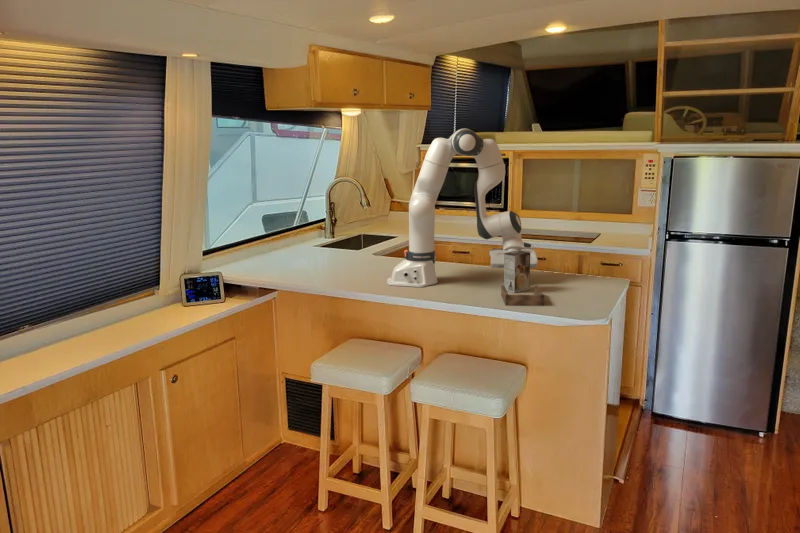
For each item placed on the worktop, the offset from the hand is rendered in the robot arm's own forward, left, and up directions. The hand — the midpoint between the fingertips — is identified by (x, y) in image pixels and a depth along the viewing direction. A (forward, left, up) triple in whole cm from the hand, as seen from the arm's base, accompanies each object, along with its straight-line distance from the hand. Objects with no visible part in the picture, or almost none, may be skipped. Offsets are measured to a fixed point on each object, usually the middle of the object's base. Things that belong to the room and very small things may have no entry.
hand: (514, 275), depth 250 cm
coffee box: (0, -6, -5) cm, 8 cm away
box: (0, -21, -5) cm, 22 cm away
